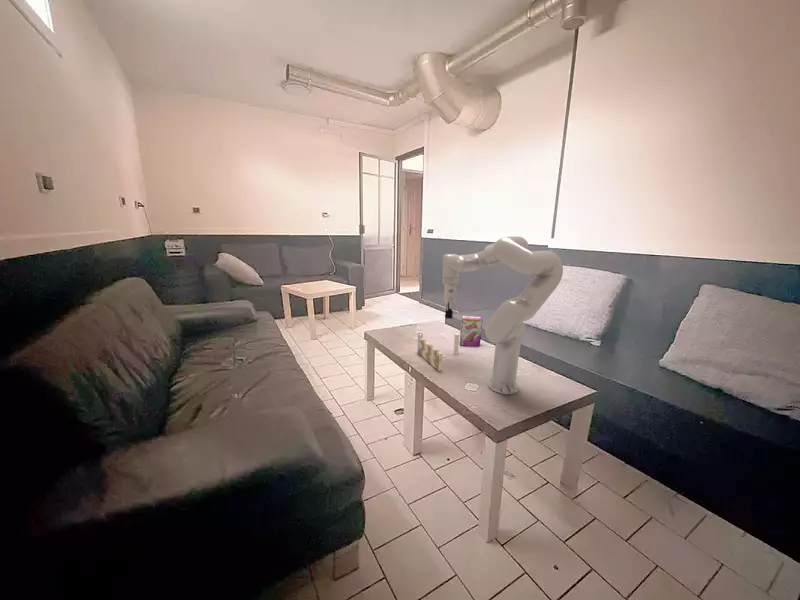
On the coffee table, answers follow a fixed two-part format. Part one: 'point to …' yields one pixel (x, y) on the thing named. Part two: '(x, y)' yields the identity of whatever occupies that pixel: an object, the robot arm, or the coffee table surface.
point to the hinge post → (419, 342)
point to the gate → (431, 354)
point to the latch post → (456, 343)
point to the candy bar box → (470, 331)
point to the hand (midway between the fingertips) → (448, 317)
